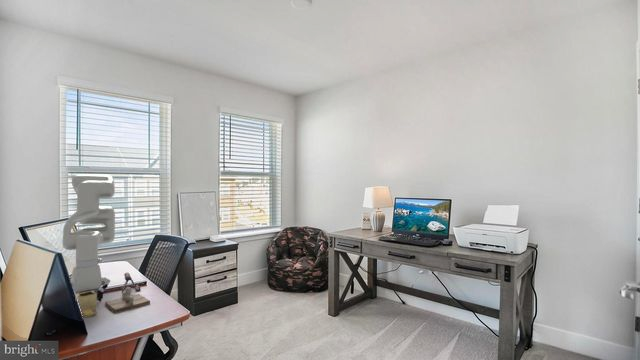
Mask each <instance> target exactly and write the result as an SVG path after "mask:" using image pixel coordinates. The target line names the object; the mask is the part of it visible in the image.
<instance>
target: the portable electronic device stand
mask: <svg viewBox="0 0 640 360" xmlns="http://www.w3.org/2000/svg"><path fill="white" fill-rule="evenodd" d="M123 276H124V280H125V282H124V284H123V286H122V289H121V293H122V294H123V292H125V291H124V290H125V288H127V285H128V282H129V281H130V283H131V284H132V286H133V288H134V289H135V291H136V293H137V292H140V291H141V286H140V283H139V282H137V284H135V282H134V280H133V278H132V277H131V274H130V273H129V272H125V273H124V275H123Z"/></svg>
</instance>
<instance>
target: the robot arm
mask: <svg viewBox="0 0 640 360" xmlns="http://www.w3.org/2000/svg"><path fill="white" fill-rule="evenodd" d="M71 185H72V189H73V190H74V192H75V194H76V197H77V198H76V199H77V200H76V211H75V212H74V213H73V214H72V215H70V217H68V218H67V220H66V222H65V223H64V226H63V230H62V233H63V234H62V247H63V248H64V249H65V250H66V251H74V250H75V267H73V268H72V271H71V277H70V283H71V282H72V284H73V286H74V289H75V292H76V294H78V293H83V292H88V291H94V289H98V298H97V301H98V302H100V303H101V302H102V300H103V298H104V291H105V290H106V289H107V288H108V287H109V284H110V283H111V280H110V279H109V278H107V277H102V272H101V266H100V264H99V263H101V262H102V261H103V260H102V258H99V247H100V246H101V245H106V244H112V243H113V242H114V241H115V236H116V235H115V232H116V231H115V229H116V213H115V210H114V208H113V207H112V206H108V205H103V206H102V205H101V206H100V199H111V198H113V197H114V195H115V188H116V186H115V180H114V177H113V176H111V175H110V174H109V175H108V174H77V175H76V174H75V175H74V176H73V177H72V178H71ZM78 223H79V224H80V225H84V226H85V225H86V227H80V228H78V229H75V231H73V232H72V229H73V228H74V226H75V225H76V224H78ZM91 225H103V226H91ZM106 278H107V279H106ZM101 281H104V282H105V284H104V285H102V286H101Z"/></svg>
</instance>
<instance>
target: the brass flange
mask: <svg viewBox="0 0 640 360" xmlns="http://www.w3.org/2000/svg"><path fill="white" fill-rule="evenodd" d="M76 296H77V299H78V303H79V306H80V309H81V312H82V315H83V316H82V317H84V318H85V319H87V318H91V317H94V316H95V314H97V305H98V304H97V301H98V300H97V294H96V293H95V292H94V290H88V291H83V292H78V293H76V294H75V297H76Z"/></svg>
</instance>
